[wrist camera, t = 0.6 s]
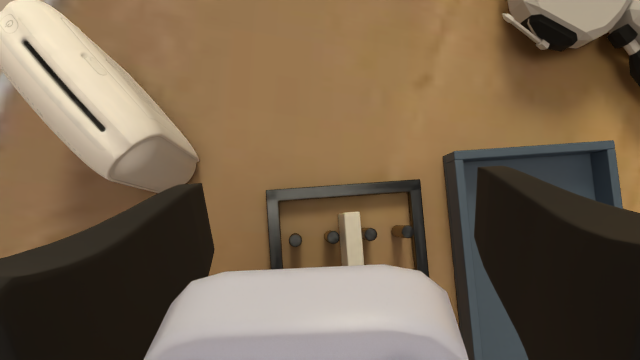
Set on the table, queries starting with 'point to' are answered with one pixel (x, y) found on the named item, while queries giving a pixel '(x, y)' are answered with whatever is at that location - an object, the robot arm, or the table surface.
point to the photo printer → (91, 100)
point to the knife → (350, 239)
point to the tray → (461, 183)
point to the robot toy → (580, 24)
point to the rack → (367, 233)
